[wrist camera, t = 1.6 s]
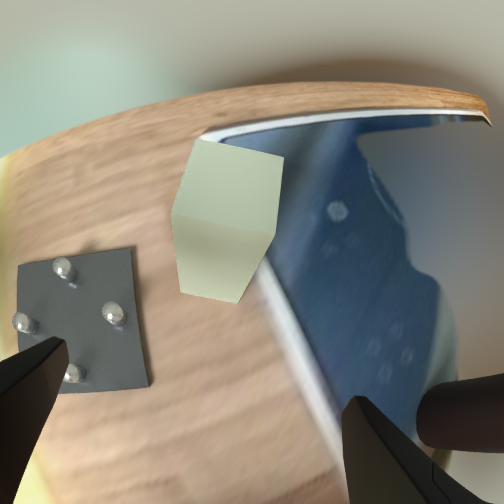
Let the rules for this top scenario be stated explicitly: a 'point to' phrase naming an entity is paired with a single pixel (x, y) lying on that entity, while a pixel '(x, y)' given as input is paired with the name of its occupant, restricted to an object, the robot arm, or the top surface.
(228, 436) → the top surface
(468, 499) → the robot arm
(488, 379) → the bottle
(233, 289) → the sage block
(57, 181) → the top surface
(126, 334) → the grey peg board
